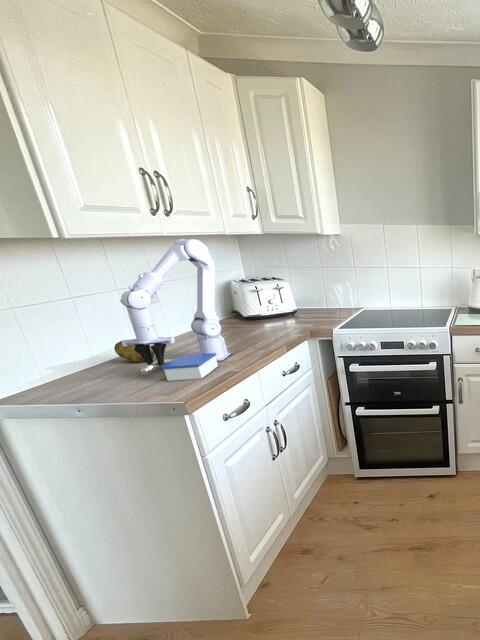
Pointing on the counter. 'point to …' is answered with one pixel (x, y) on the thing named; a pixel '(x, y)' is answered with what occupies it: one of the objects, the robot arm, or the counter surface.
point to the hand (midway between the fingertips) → (156, 364)
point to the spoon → (153, 366)
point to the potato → (129, 353)
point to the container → (190, 366)
